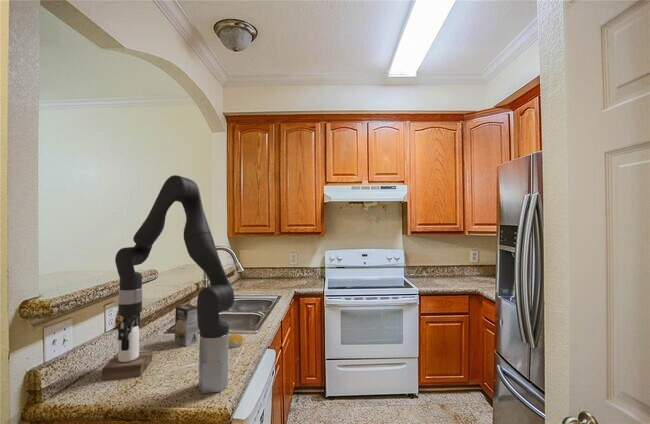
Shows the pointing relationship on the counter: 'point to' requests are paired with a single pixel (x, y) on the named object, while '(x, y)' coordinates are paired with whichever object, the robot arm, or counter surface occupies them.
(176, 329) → the coffee box
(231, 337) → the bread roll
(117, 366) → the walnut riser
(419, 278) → the counter surface
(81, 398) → the counter surface
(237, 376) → the counter surface
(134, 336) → the can
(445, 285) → the counter surface
